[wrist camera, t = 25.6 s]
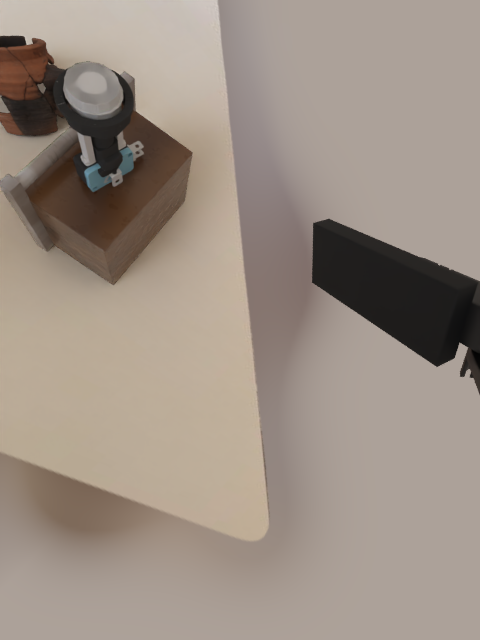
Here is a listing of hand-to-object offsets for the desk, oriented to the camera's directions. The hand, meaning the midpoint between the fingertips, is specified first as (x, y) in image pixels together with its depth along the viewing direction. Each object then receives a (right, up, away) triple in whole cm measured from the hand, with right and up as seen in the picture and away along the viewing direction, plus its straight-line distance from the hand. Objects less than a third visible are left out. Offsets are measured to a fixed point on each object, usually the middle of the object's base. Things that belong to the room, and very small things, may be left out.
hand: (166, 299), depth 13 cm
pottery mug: (-22, +25, +31) cm, 45 cm away
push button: (-9, +13, +21) cm, 27 cm away
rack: (-12, +11, +29) cm, 33 cm away
